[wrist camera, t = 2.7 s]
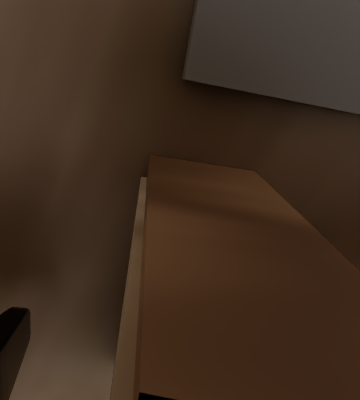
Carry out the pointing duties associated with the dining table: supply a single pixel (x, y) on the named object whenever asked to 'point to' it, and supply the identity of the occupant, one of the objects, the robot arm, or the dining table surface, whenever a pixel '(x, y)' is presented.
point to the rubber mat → (279, 49)
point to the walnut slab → (232, 294)
